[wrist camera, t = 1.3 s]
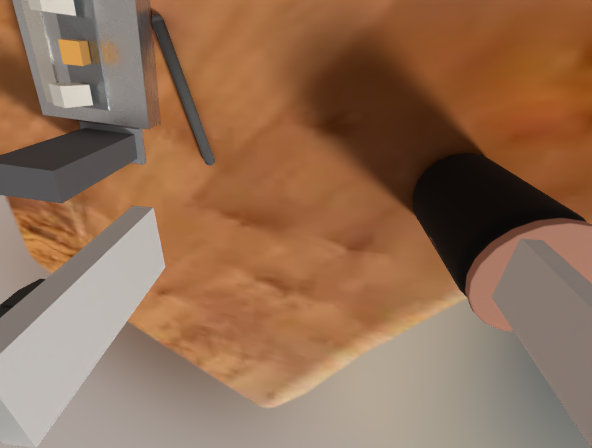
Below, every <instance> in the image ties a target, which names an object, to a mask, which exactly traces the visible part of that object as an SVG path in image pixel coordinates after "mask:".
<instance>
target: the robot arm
mask: <svg viewBox="0 0 592 448" xmlns="http://www.w3.org/2000/svg"><path fill="white" fill-rule="evenodd" d="M164 268H165V263H164V258H163V253H162V248H161V243H160V238H159V233H158V228H157V223H156V218H155V213H154V208H152V207H140V206H132V207H131V208H130V209H129V210H128V211H126V212H125V213H124V214H123V215H122V216H120V217H119V218H118V219H117V220H116V221H115V222H113V223H112V224H111V225H110V226H109V227H107V228H106V229H105V230H104V231H103V232H101V233H100V234H99V235H98V236H97V237H96V238H94V239H93V240H92V241H91V242H90V243H88V244H87V245H86V246H85V247H84V248H83V249H81V250H80V251H79V252H78V253H77V254H75V255H74V256H73V257H72V258H71V259H70V260H68V261H67V262H66V263H65V264H64V265H62V266H61V267H60V268H59V269H58V270H56V271H55V272H54V273H53V274H52V275H51V276H49V277H48V278H47V279H39V280H37V281H35V282H33V283H31V284H30V285H28V286H26V287H24V288H22V289H20V290H18V291H17V292H16V293H14V294H13V295H12V296H11V297H9V298H8V299H7V300H6V301H5V302H3V303H2V304H1V305H0V440H1V441H2V442H3V443H4V444H7V445H16V446H24V447H33V448H37V446H38V445H39V444H40V442H41V441H42V439H43V438H44V437H45V435H46V434H47V432H48V431H49V430H50V428H51V427H52V425H53V424H54V423H55V421H56V420H57V418H58V417H59V415H60V414H61V413H62V411H63V410H64V409H65V407H66V406H67V404H68V403H69V401H70V400H71V399H72V397H73V396H74V394H75V393H76V392H77V390H78V389H79V388H80V386H81V385H82V383H83V382H84V381H85V379H86V378H87V376H88V375H89V374H90V372H91V371H92V369H93V368H94V366H95V365H96V364H97V362H98V361H99V359H100V358H101V357H102V355H103V354H104V353H105V351H106V350H107V348H108V347H109V346H110V344H111V343H112V341H113V340H114V338H115V337H116V336H117V334H118V333H119V331H120V330H121V329H122V327H123V326H124V324H125V323H126V322H127V320H128V319H129V317H130V316H131V315H132V313H133V312H134V310H135V309H136V308H137V306H138V305H139V303H140V302H141V301H142V299H143V298H144V296H145V295H146V294H147V292H148V291H149V289H150V288H151V287H152V285H153V284H154V282H155V281H156V280H157V278H158V277H159V275H160V274H161V273H162V271H163V270H164ZM492 299H493V300H494V302H495V303H496V305H497V306H498V308H499V309H500V311H501V312H502V314H503V316H504V317H505V319H506V320H507V322H508V323H509V325H510V326H511V328H512V329H513V331H514V332H515V333H516V335H517V337H518V338H519V340H520V341H521V343H522V344H523V346H524V347H525V349H526V350H527V352H528V353H529V355H530V356H531V358H532V359H533V361H534V362H535V364H536V365H537V367H538V368H539V370H540V371H541V373H542V374H543V376H544V377H545V379H546V380H547V382H548V383H549V385H550V386H551V388H552V389H553V391H554V392H555V394H556V395H557V397H558V399H559V400H560V402H561V403H562V405H563V406H564V407H565V409H566V410H567V412H568V413H569V415H570V417H571V418H572V420H573V421H574V423H575V424H576V426H577V427H578V429H579V430H580V431H581V433H582V435H583V436H584V438H585V439H586V440H587V442H588V444H589V445H590V447H591V448H592V284H591V283H590V282H589V281H588V280H587V279H586V278H585V277H583V276H582V275H581V274H580V273H579V272H578V271H577V270H576V269H574V268H573V267H572V266H571V265H570V264H569V263H568V262H567V261H566V260H564V259H563V258H562V257H561V256H560V255H559V254H558V253H557V252H555V251H554V250H553V249H552V248H551V247H550V246H549V245H548V244H547V243H545V242H544V241H543V240H533V239H521V238H520V240H519V242H518V244H517V246H516V248H515V250H514V252H513V255H512V257H511V259H510V261H509V263H508V265H507V267H506V269H505V271H504V273H503V275H502V277H501V279H500V281H499V283H498V285H497V287H496V289H495V291H494V293H493V295H492Z"/></svg>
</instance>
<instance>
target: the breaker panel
mask: <svg viewBox="0 0 592 448" xmlns="http://www.w3.org/2000/svg"><path fill="white" fill-rule="evenodd" d="M12 1H13V5H14V8H15V12H16V16H17V20H18V23H19V27H20V31H21V35H22V38H23V42H24V46H25V50H26V53H27V57H28V61H29V65H30V68H31V72H32V76H33V80H34V83H35V87H36V91H37V95H38V98H39V102H40V106H41V110H42V113H43V115H48V116H55V117H63V118H70V119H77V120H84V121H92V122H99V123H106V124H114V125H121V126H128V127H136V128H143V129H151V128H153V127H155V126H157V125H160V124H161V120H160V109H159V98H158V87H157V76H156V64H155V53H154V42H153V31H152V20H151V9H150V0H73V1H74V6H75V11H76V16H73V15H65V14H58V13H51V12H44V11H37V10H31V9H30V7H29V3H28V0H12ZM58 39H75V40H83V41H87V42H88V47H89V53H90V58H91V64H88V65H85V66H78V65H68V64H63V61H62V56H61V52H60V47H59V43H58ZM50 83H83V84H87V85H89V86H90V91H91V96H92V102H93V105H90V106H80V107H70V108H63V107H59V106H55V105H54V104H53V100H52V96H51V92H50V88H49V84H50Z"/></svg>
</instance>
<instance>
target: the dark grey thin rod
mask: <svg viewBox="0 0 592 448" xmlns="http://www.w3.org/2000/svg"><path fill="white" fill-rule="evenodd" d="M151 20H152V24H153V27H154V29H155V32H156V35H157V37H158V40H159V42H160V45H161V48H162V50H163V53H164V56H165V58H166V61H167V63H168V66H169V69H170V71H171V74H172V77H173V79H174V82H175V85H176V87H177V90H178V92H179V95H180V98H181V100H182V103H183V106H184V108H185V111H186V114H187V116H188V119H189V121H190V124H191V127H192V129H193V132H194V135H195V137H196V140H197V142H198V145H199V148H200V150H201V153H202V156H203V158H204V161H205V163H206V164H207V165H213V164H214V162H215V160H214V157H213V154H212V151H211V149H210V146H209V143H208V140H207V138H206V135H205V132H204V129H203V127H202V124H201V121H200V118H199V116H198V113H197V110H196V107H195V105H194V102H193V99H192V96H191V94H190V91H189V88H188V85H187V83H186V80H185V77H184V74H183V72H182V69H181V66H180V63H179V61H178V58H177V55H176V52H175V50H174V47H173V44H172V41H171V39H170V36H169V33H168V30H167V28H166V25H165V22H164V20H163V18H162V17H161V16H160V15H158V14H155V15H153V16H152V19H151Z"/></svg>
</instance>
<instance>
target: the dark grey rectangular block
mask: <svg viewBox="0 0 592 448" xmlns="http://www.w3.org/2000/svg"><path fill="white" fill-rule="evenodd" d="M79 124H80V130H77V131H74V132H71V133H68V134H65V135H62V136H59V137H55V138H52V139H49V140H46V141H43V142H40V143H37V144H34V145H31V146H28V147H25V148H22V149H19V150H15V151H12V152H9V153H6V154H3V155H0V195H5V196H12V197H20V198H27V199H34V200H42V201H49V202H57V203H63V202H65V201H67V200H68V199H70V198H72V197H73V196H75V195H77V194H79V193H80V192H82V191H84V190H85V189H87V188H89V187H90V186H92V185H94V184H95V183H97V182H99V181H101V180H102V179H104V178H106V177H107V176H109V175H111V174H112V173H114V172H116V171H117V170H119V169H121V168H123V167H124V166H126V165H128V164H129V163H135V164H142V165H143V164H145V163H146V158H145V149H144V141H143V133H142V128H136V127H128V126H121V125H114V124H106V123H99V122H92V121H84V120H81V121H79Z"/></svg>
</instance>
